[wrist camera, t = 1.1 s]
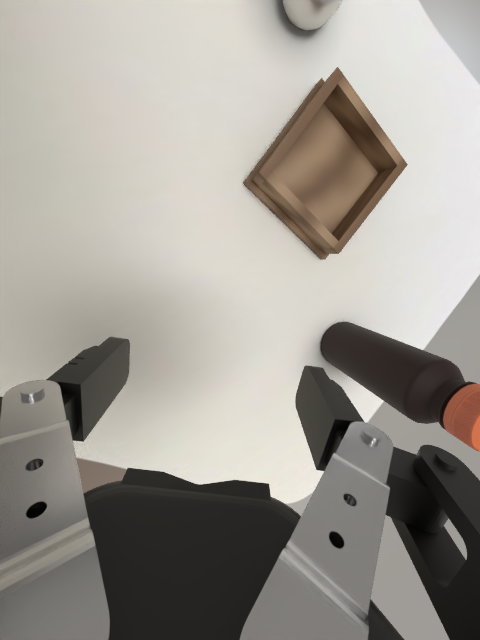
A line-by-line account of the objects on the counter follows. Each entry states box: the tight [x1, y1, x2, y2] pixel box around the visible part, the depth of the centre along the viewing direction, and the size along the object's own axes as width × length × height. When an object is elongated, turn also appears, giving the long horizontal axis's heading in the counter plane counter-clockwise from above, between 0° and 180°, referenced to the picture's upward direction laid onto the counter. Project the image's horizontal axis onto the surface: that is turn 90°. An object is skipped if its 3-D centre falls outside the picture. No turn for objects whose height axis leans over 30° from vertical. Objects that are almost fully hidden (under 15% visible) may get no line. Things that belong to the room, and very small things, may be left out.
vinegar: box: [321, 322, 480, 451], centre depth 29 cm, size 7×7×20 cm
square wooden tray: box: [243, 67, 407, 259], centre depth 30 cm, size 14×14×4 cm
